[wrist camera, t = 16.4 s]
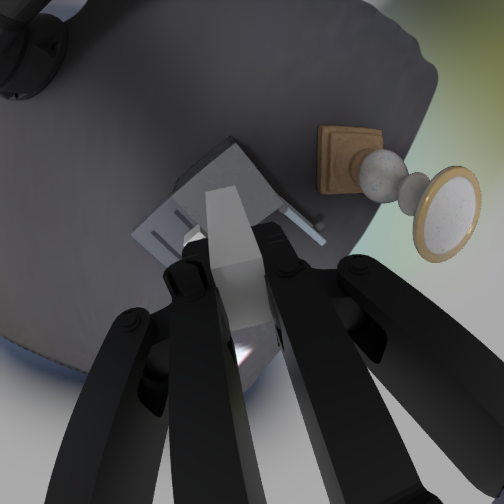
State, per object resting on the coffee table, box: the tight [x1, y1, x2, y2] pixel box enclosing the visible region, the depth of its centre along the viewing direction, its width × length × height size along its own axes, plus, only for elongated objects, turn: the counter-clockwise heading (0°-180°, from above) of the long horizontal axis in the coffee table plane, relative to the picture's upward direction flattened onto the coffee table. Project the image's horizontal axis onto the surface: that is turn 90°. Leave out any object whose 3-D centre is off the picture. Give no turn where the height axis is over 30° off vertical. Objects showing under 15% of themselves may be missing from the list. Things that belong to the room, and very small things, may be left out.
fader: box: [183, 224, 208, 246], centre depth 40 cm, size 2×3×3 cm
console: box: [131, 192, 198, 268], centre depth 45 cm, size 22×10×2 cm, turn 37°
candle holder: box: [316, 125, 481, 263], centre depth 31 cm, size 11×11×24 cm
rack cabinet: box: [171, 136, 284, 234], centre depth 37 cm, size 10×10×8 cm
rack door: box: [274, 190, 326, 246], centre depth 41 cm, size 3×10×7 cm, turn 49°
